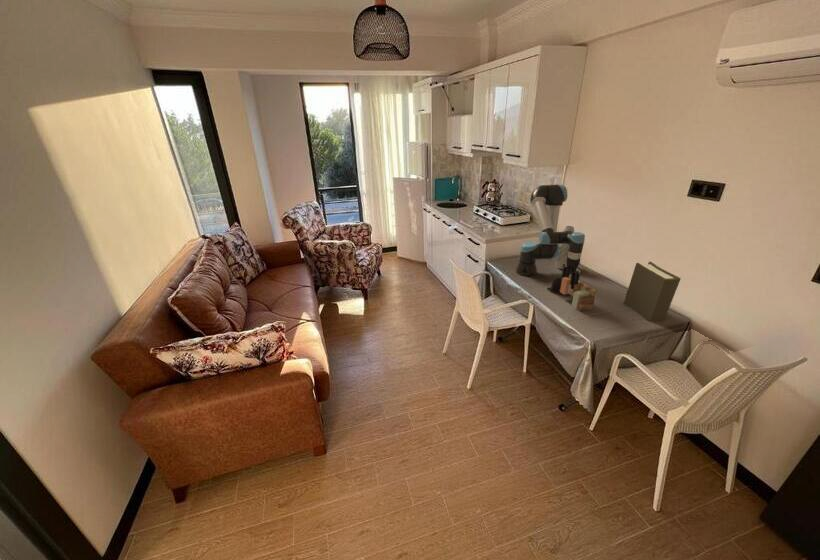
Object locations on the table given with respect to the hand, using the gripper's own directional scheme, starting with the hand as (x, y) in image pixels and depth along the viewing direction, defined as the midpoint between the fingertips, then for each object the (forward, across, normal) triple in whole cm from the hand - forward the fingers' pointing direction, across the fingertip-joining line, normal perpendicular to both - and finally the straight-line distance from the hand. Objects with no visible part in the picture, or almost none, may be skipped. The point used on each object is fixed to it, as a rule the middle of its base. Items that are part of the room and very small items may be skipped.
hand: (567, 291), depth 212 cm
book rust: (+1, 0, 0) cm, 1 cm away
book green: (+5, +11, 0) cm, 13 cm away
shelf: (+5, +4, +1) cm, 6 cm away
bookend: (+5, -12, 0) cm, 13 cm away
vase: (+5, -41, +31) cm, 51 cm away
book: (+5, +30, +30) cm, 43 cm away
